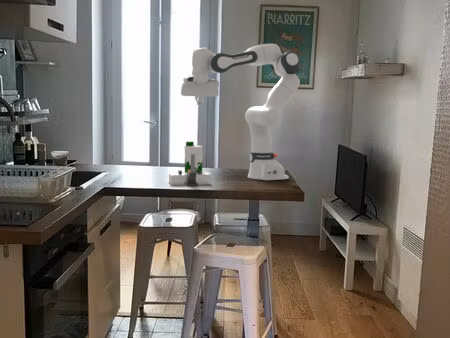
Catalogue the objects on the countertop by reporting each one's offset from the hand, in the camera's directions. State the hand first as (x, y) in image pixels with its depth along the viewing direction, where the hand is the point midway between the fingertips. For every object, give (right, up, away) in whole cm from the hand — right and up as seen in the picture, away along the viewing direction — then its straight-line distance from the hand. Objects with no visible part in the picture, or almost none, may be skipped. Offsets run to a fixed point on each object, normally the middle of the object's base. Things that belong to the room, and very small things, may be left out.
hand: (199, 104), depth 268 cm
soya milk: (-3, -40, -5) cm, 41 cm away
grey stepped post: (-2, -43, -22) cm, 48 cm away
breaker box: (-4, -42, -16) cm, 45 cm away
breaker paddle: (-4, -37, -17) cm, 40 cm away
